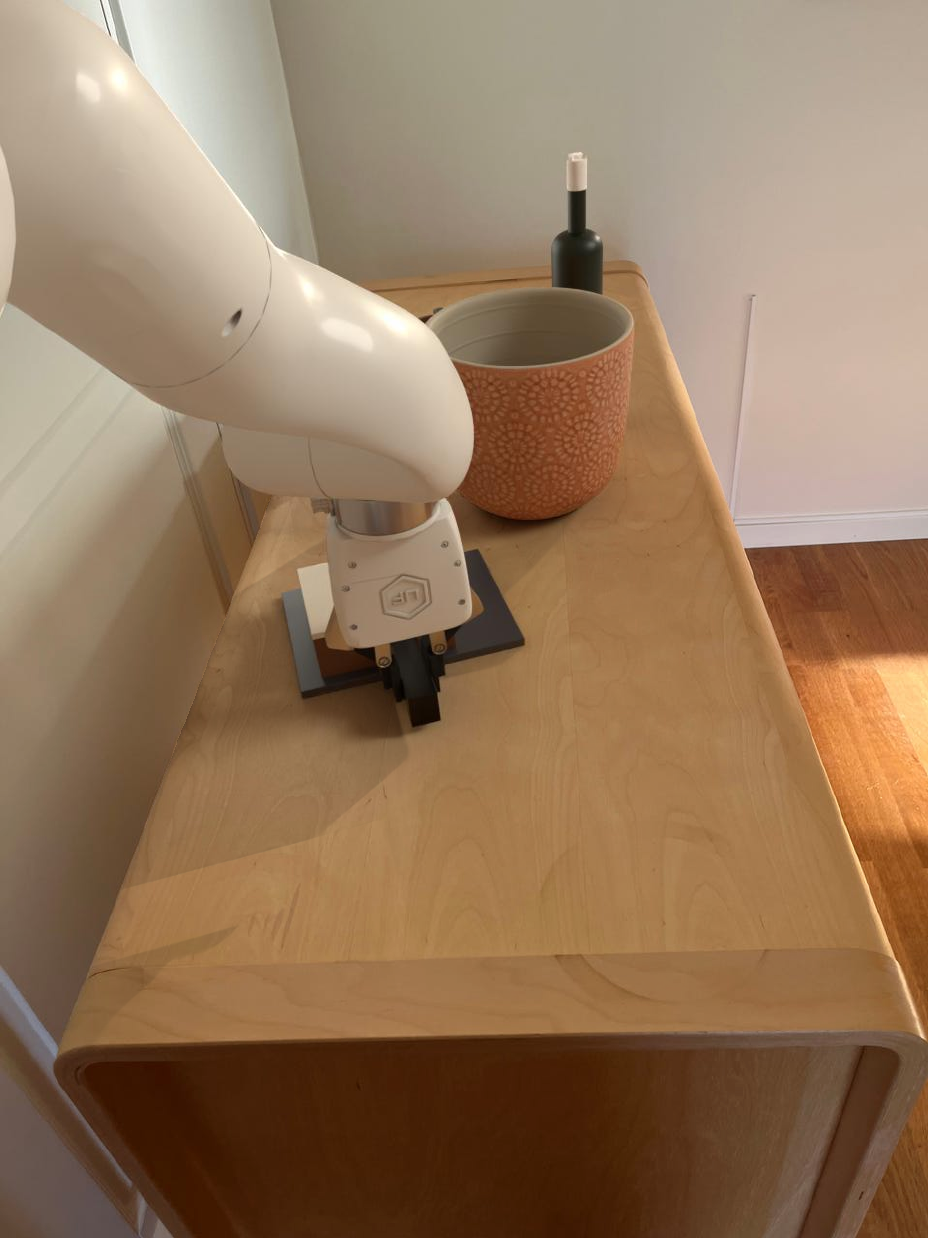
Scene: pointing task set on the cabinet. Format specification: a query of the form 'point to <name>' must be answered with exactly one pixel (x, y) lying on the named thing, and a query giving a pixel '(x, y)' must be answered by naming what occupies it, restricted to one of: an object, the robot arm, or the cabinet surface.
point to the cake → (348, 668)
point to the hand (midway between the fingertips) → (414, 685)
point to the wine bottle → (577, 237)
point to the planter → (540, 395)
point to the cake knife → (416, 683)
